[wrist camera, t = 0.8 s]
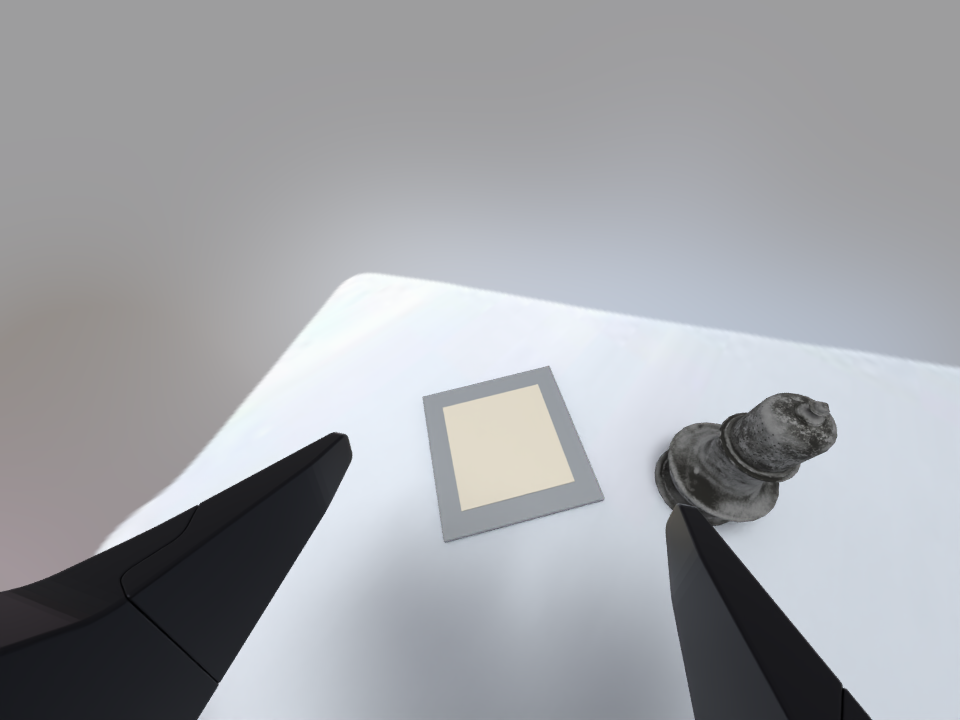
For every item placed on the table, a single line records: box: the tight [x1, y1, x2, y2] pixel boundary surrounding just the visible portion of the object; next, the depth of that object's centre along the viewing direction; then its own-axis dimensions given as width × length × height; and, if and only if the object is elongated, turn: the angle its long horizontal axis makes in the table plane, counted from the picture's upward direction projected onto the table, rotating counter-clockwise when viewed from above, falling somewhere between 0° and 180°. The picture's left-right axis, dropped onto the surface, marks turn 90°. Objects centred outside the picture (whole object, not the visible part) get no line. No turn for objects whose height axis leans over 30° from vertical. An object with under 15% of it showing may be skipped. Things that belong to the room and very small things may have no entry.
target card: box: [423, 366, 604, 542], centre depth 26 cm, size 11×11×1 cm
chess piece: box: [655, 393, 837, 526], centre depth 18 cm, size 6×6×12 cm
